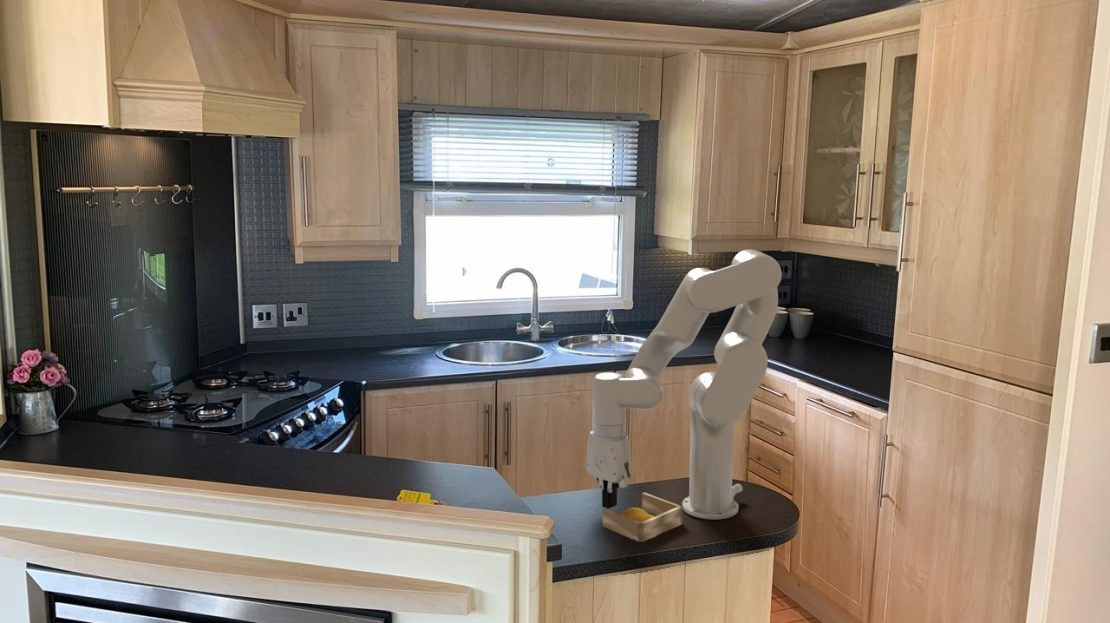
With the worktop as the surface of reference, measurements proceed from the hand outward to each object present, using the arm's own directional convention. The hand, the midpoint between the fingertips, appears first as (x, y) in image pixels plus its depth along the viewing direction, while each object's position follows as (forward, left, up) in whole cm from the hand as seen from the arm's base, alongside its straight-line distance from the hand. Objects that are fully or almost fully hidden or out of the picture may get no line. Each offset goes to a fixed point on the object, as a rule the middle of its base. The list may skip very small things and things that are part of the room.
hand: (609, 506), depth 196 cm
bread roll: (+2, +10, -2) cm, 10 cm away
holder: (0, +10, -1) cm, 10 cm away
